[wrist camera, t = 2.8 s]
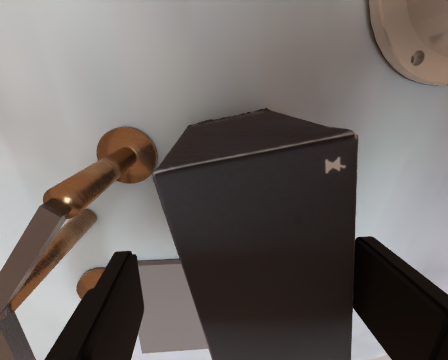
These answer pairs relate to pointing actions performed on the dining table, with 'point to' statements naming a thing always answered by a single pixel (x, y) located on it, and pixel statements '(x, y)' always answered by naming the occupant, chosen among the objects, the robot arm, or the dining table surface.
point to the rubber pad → (168, 309)
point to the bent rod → (66, 228)
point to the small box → (266, 233)
